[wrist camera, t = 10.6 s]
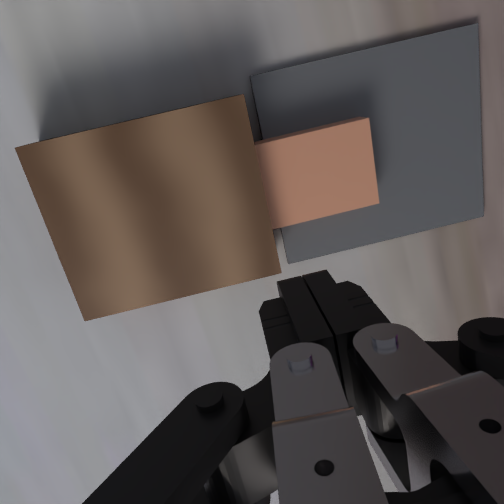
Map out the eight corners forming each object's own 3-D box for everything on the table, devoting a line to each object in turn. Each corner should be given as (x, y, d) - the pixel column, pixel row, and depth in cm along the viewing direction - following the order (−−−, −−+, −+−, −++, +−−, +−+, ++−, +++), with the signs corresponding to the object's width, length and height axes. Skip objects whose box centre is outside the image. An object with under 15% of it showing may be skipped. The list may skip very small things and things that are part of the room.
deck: (238, 94, 30) (243, 94, 26) (272, 253, 34) (281, 272, 30) (38, 141, 29) (14, 147, 26) (98, 296, 34) (84, 321, 30)
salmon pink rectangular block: (358, 116, 31) (368, 117, 29) (369, 197, 33) (379, 203, 31) (249, 142, 31) (252, 145, 29) (267, 222, 33) (270, 230, 31)
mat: (474, 24, 30) (477, 23, 30) (480, 215, 35) (483, 216, 34) (249, 76, 30) (250, 75, 29) (287, 262, 34) (288, 264, 34)
